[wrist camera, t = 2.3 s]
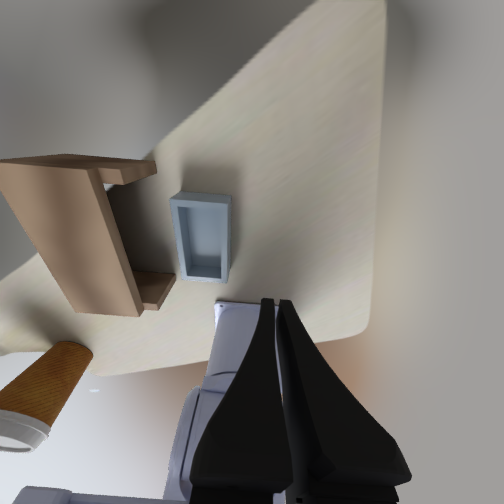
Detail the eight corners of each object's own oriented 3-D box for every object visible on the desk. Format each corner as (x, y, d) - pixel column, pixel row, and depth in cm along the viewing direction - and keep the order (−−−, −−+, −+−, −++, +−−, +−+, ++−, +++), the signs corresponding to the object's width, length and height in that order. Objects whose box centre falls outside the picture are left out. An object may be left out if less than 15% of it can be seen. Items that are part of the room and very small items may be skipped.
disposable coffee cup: (32, 339, 33) (-72, 432, 22) (76, 331, 31) (-13, 427, 21) (73, 367, 37) (2, 455, 27) (113, 362, 36) (54, 453, 25)
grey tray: (231, 194, 19) (227, 203, 16) (230, 267, 23) (226, 283, 21) (181, 190, 19) (169, 198, 16) (190, 264, 23) (181, 279, 21)
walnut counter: (154, 161, 17) (110, 171, 12) (176, 280, 24) (153, 318, 19) (65, 153, 17) (-18, 161, 12) (114, 275, 24) (75, 312, 19)
